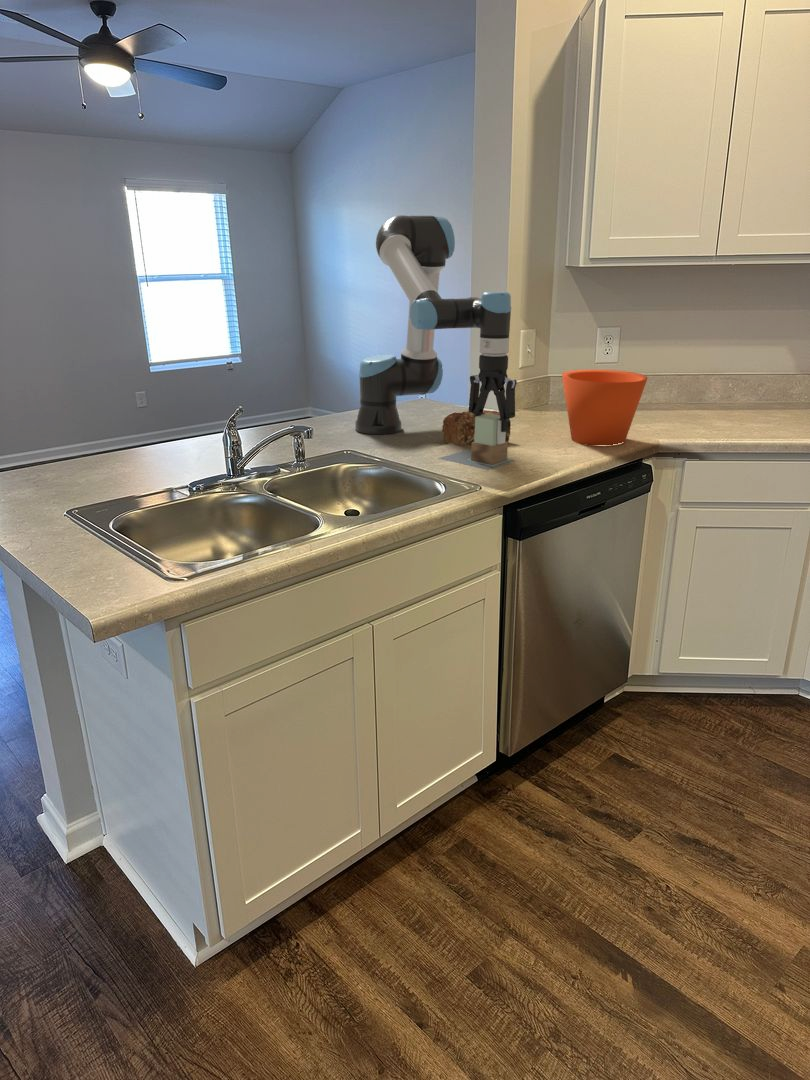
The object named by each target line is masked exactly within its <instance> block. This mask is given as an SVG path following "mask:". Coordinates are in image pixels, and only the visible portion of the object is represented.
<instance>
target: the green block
mask: <svg viewBox="0 0 810 1080" xmlns="http://www.w3.org/2000/svg"><path fill="white" fill-rule="evenodd" d="M499 419H500V415H494V414H485V415H481V416H477V417H475V436H474V443H479V444H484V445H489V446H495V445H498V444H497V427H498V420H499ZM505 438H506V432H505Z"/></svg>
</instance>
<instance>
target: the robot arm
mask: <svg viewBox="0 0 810 1080" xmlns="http://www.w3.org/2000/svg"><path fill="white" fill-rule="evenodd" d="M455 239H456V238H455V233H454V229H453V226H452V223H451V222H450V221H449V219H448V218H446V217H444V216H437V215H402V214H400V215H395V216H392V217H391V218H389V219H387V220H386V221H385V222H384V223H383V224H382V225H381V227H380V228H379V230H378V232H377V233H376V239H375V248H376V252H377V255H378V257H379V258H380V260H381V261H382V263H383V264H384V265H386V266H388V267H389V268H390V270H391V272H392V273H393V275H394V277H395V278H396V280H397V282H398V284H399V285H400V287H401V288H402V290H403V292H404V294H405V295H406V297H407V299H408V300H409V304H408V315H407V316H408V319H407V331H406V332H407V334H406V347H404V348H403V349H402V350H401V352H400V353H401V354H400V358H397V356H396V355H394V354H379V355H373V356H368V357H365V358H364V359H361V361H360V363H359V373H358V377H359V399H360V400H359V403H360V404H359V405H360V406H359V409H358V412H357V418H356V420H355V423H354V425H355V428H354V429H355V431H357V432H358V433H362V434H369V435H387V434H388V435H389V434H394V433H398V432H400V431H402V420H401V419H400V415H399V411H398V406H397V397H402V396H415V395H421V396H424V395H428V394H434V393H435V392H436V391H437V390H438V389H439V387H440V386H441V383H442V381H443V374H444V369H443V363H442V360H441V359H440V358H439V357H438V353H437V352H436V351H435V349H434V343H435V342H434V341H435V330H445V329H473V328H474V329H479V330H480V331H479V353H480V355H479V357H478V358H479V359H478V368H479V373H478V374H475V375H471V376H469V381H470V391H469V402H468V411H469V412H470V413H473V414H474V416H475V417H477V416H481V414H484V413H483V410H484V411H485V407H486V404H487V401H488V396H489V394H490V392H493V394H494V396H495V400H496V404H497V408H498V412H499V414H500V419H499V420H498V427H497V444H503V443H505V432H507V430H508V420H509V419H513V418H515V417H516V386H517V383H518V381H517V379H511V378H509V376H508V374H507V370H508V369H509V356H508V353H509V351H510V350H509V349H510V332H511V331H510V329H511V313H512V306H511V305H512V303H511V302H512V300H511V299H512V296H511V294H510V293H509V292H507V291H484V292H483V293H482V294H481V298H479V297H475V296H474V297H472V296H471V297H465V298H442V297H441V296H440V294H439V285H440V282H439V281H440V272H441V271H442V270H443V269H444V268H445V267H446V262H447V261H446V260H447V259H450V258H452V256H453V254H454V252H455V244H456V243H455ZM480 383H481V384H480ZM474 421H475V420H474ZM474 426H475V422H474Z"/></svg>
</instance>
